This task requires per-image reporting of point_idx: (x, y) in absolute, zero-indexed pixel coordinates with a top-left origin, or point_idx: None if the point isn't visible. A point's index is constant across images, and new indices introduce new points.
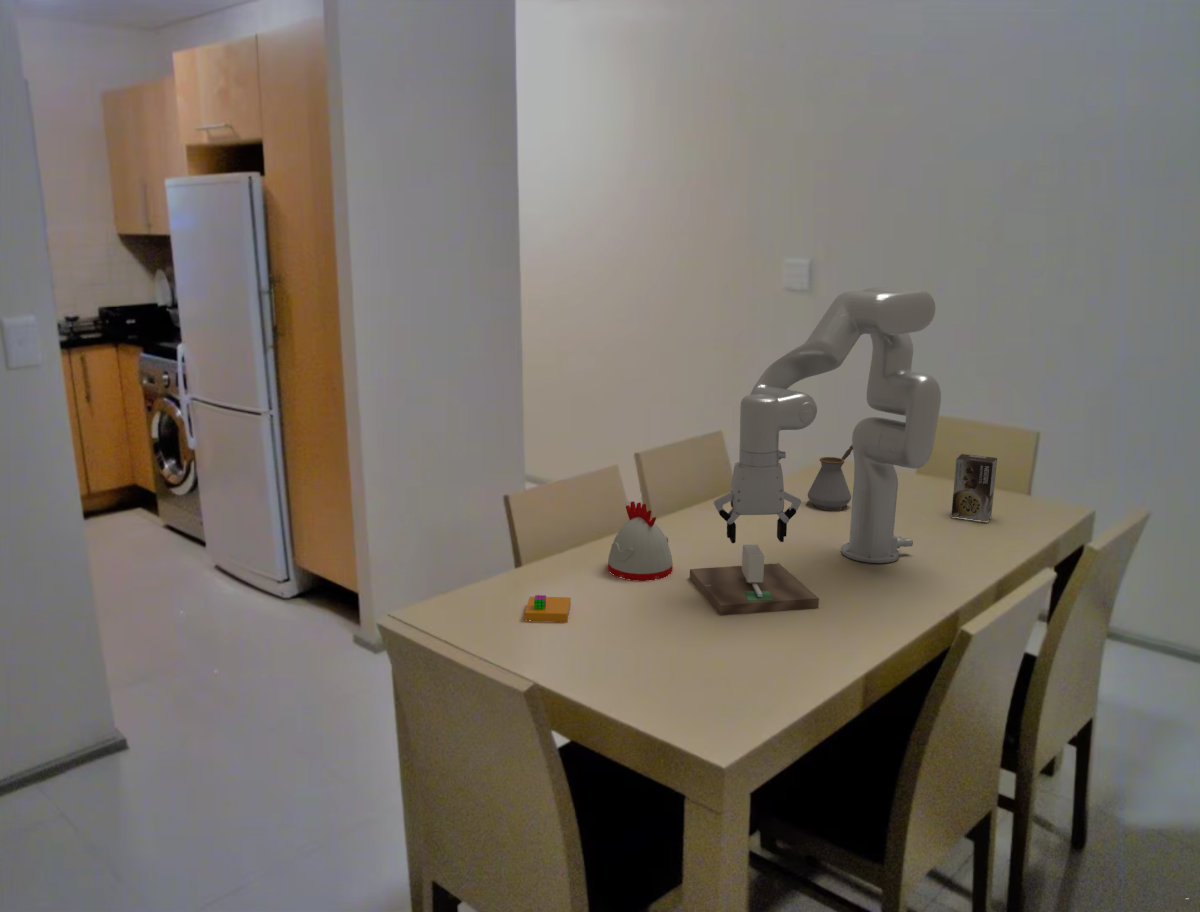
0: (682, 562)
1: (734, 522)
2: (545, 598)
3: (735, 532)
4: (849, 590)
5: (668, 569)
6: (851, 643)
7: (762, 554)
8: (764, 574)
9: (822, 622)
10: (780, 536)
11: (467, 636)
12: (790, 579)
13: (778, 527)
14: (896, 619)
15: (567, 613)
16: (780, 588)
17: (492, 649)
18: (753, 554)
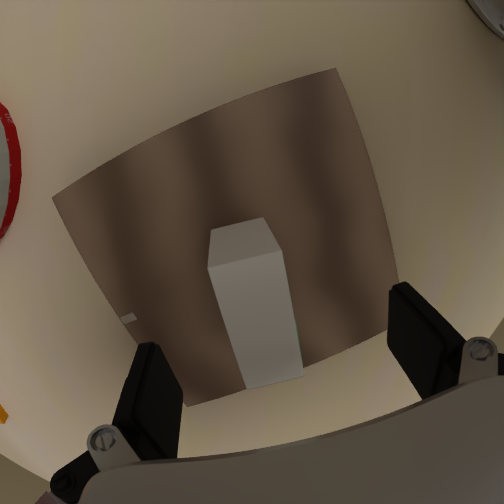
0: (37, 75)
1: (156, 443)
2: None
3: (178, 433)
4: (467, 191)
5: (9, 195)
6: (396, 409)
7: (298, 364)
8: (288, 182)
9: (381, 366)
10: (398, 361)
11: None
12: (364, 211)
13: (416, 348)
14: (483, 312)
15: (3, 423)
16: (329, 288)
17: (7, 453)
18: (262, 373)
